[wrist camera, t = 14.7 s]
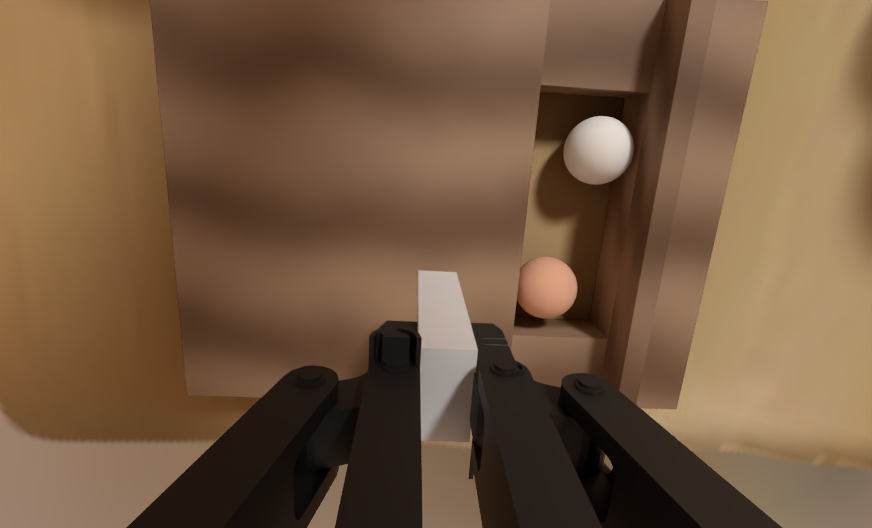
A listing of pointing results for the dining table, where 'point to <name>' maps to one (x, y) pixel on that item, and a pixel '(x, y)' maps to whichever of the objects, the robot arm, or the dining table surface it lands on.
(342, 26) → the board
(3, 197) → the dining table surface
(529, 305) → the ball terracotta
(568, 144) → the ball white
